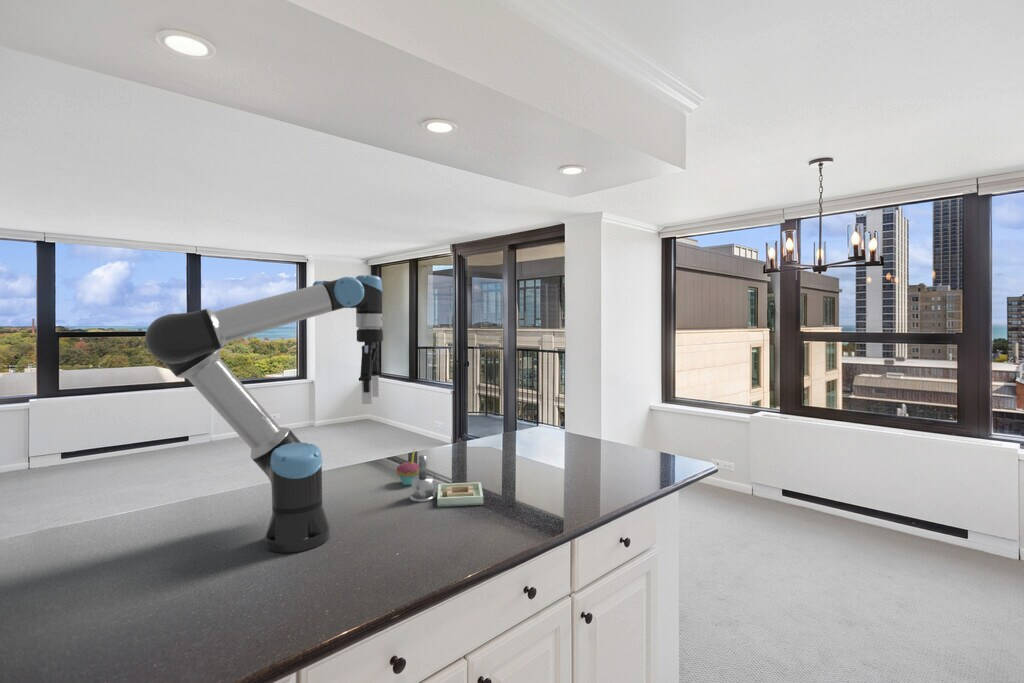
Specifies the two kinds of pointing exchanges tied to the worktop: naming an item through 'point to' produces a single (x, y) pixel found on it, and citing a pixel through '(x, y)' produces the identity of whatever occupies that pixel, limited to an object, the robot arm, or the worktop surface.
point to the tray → (460, 501)
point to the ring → (458, 491)
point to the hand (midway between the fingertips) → (371, 400)
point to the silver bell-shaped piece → (422, 484)
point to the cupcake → (408, 471)
